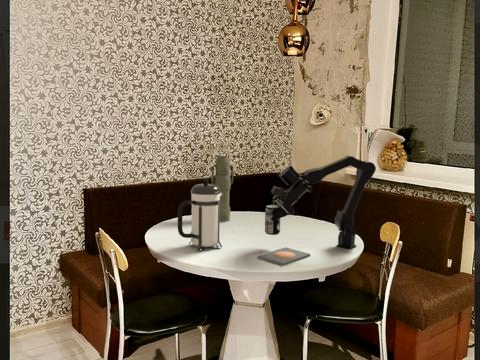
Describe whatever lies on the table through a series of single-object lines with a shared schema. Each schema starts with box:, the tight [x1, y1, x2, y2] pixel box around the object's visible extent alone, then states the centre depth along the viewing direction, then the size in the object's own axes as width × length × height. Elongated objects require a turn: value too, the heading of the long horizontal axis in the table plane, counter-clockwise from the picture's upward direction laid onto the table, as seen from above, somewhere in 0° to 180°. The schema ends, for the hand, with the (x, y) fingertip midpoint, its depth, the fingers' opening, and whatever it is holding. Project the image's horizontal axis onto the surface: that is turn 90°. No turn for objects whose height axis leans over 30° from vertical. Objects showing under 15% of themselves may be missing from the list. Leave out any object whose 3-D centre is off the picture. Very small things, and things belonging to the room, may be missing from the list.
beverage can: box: [264, 204, 281, 236], centre depth 198 cm, size 7×7×12 cm
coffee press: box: [177, 178, 223, 251], centre depth 197 cm, size 17×16×30 cm
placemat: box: [257, 247, 311, 267], centre depth 187 cm, size 13×18×1 cm
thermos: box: [211, 155, 234, 222], centre depth 249 cm, size 9×12×35 cm
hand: (269, 218), depth 198 cm, fingers closed on beverage can, 7 cm apart
